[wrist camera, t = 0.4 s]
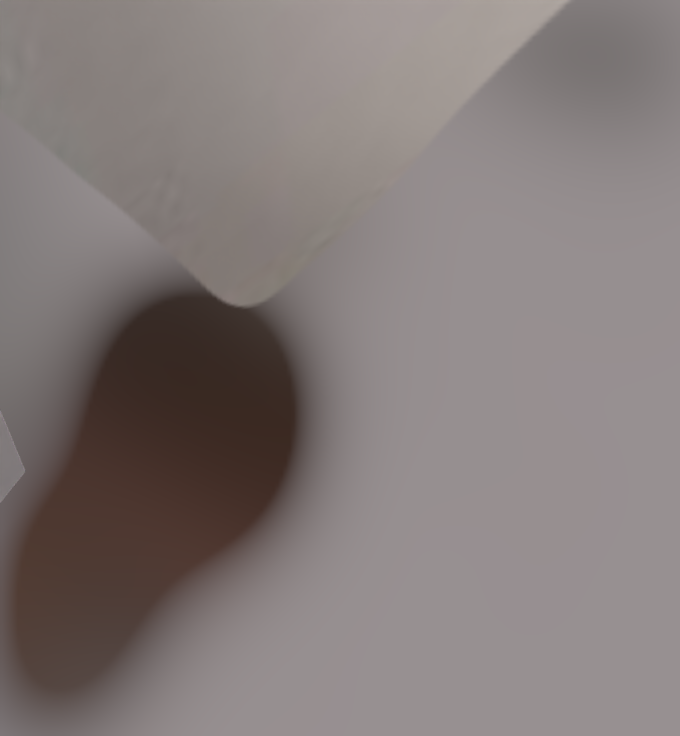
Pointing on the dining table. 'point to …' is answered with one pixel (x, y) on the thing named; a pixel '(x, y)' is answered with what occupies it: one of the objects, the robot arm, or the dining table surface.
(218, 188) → the dining table surface
